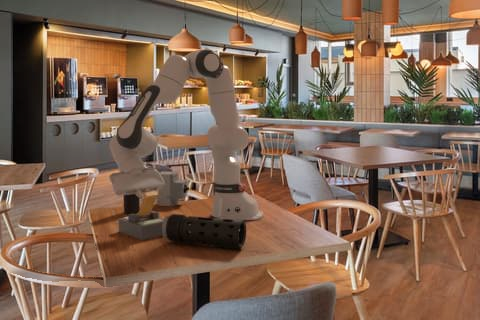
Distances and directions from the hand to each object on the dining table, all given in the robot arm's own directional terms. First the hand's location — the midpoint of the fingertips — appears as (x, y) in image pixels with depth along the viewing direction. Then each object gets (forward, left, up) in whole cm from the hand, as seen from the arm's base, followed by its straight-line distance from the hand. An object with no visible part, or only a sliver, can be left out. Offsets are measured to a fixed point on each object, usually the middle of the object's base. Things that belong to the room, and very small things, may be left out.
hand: (146, 200), depth 190 cm
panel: (+2, -2, -13) cm, 13 cm away
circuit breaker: (+9, -51, -13) cm, 53 cm away
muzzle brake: (-25, +8, -13) cm, 29 cm away
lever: (+2, -2, -6) cm, 7 cm away
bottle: (+21, -31, -13) cm, 40 cm away
